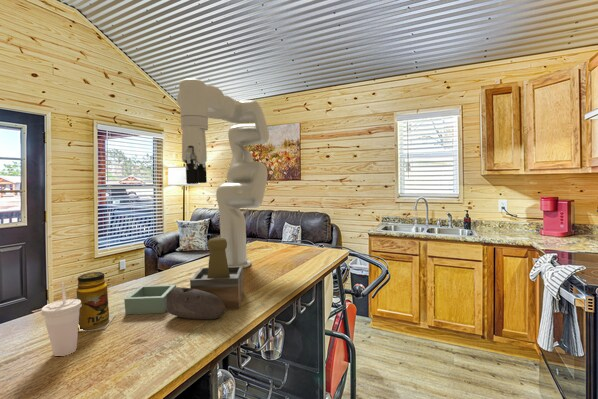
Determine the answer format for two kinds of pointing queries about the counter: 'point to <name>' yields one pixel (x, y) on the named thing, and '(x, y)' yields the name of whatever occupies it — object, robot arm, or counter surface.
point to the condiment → (93, 302)
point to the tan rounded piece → (217, 258)
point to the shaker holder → (148, 299)
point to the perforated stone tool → (194, 304)
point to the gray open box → (222, 286)
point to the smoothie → (62, 324)
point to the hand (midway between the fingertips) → (197, 183)
